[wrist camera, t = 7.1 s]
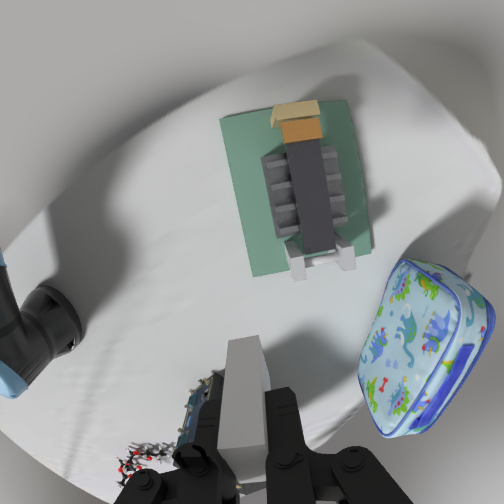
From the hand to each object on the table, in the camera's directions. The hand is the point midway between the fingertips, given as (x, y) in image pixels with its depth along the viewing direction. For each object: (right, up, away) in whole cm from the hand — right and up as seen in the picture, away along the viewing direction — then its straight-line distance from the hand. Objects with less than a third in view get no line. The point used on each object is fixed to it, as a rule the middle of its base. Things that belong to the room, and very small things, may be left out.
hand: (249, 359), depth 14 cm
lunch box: (+26, -7, +33) cm, 43 cm away
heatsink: (+7, +15, +27) cm, 31 cm away
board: (+7, +15, +27) cm, 31 cm away
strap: (+7, +13, +19) cm, 24 cm away
